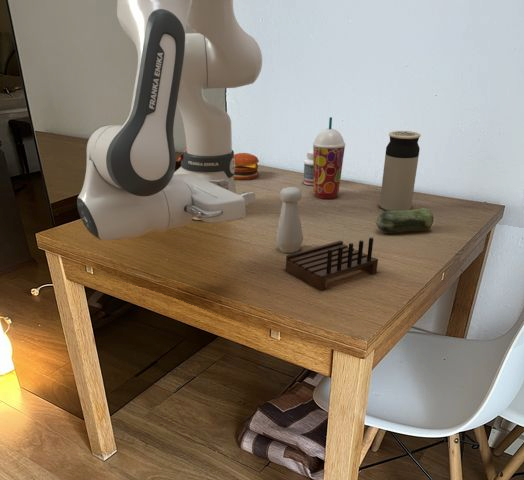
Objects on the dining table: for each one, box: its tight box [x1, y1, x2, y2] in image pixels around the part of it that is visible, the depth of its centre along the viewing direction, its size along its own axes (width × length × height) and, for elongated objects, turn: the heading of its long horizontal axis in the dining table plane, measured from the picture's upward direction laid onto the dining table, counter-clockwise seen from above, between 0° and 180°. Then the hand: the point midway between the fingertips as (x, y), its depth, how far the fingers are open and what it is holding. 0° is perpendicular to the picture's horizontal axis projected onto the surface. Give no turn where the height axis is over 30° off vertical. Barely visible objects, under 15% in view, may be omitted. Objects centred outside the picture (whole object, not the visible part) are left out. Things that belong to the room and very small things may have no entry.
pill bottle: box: [303, 149, 314, 186], centre depth 157 cm, size 5×5×9 cm
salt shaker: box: [275, 186, 304, 254], centre depth 113 cm, size 6×6×13 cm
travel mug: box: [379, 130, 421, 211], centre depth 135 cm, size 8×8×18 cm
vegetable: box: [374, 207, 435, 234], centre depth 124 cm, size 14×5×5 cm, turn 102°
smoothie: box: [312, 116, 346, 200], centre depth 143 cm, size 8×8×20 cm
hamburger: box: [234, 152, 260, 181], centre depth 164 cm, size 9×10×7 cm
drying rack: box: [285, 237, 379, 291], centre depth 105 cm, size 11×14×7 cm
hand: (239, 190), depth 103 cm, fingers open, 8 cm apart
